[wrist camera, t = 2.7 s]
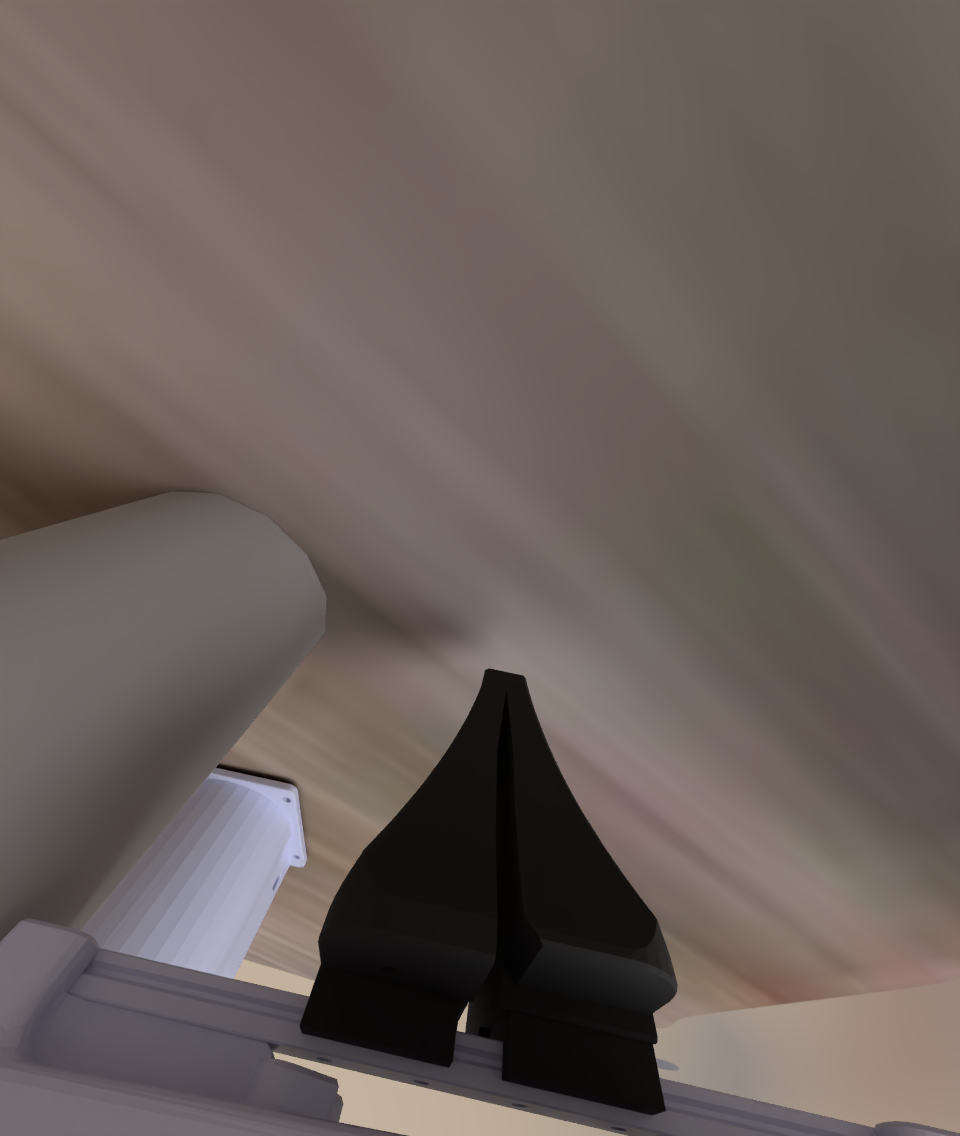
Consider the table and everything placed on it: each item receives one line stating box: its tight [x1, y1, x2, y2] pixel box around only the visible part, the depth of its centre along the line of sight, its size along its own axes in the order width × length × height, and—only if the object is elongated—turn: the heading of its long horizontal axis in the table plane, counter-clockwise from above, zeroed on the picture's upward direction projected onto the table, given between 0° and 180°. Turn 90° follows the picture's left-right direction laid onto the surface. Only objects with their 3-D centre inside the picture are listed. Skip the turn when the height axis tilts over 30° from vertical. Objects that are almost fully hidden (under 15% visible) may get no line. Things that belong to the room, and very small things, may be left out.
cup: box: [0, 491, 327, 942], centre depth 10 cm, size 8×8×10 cm
